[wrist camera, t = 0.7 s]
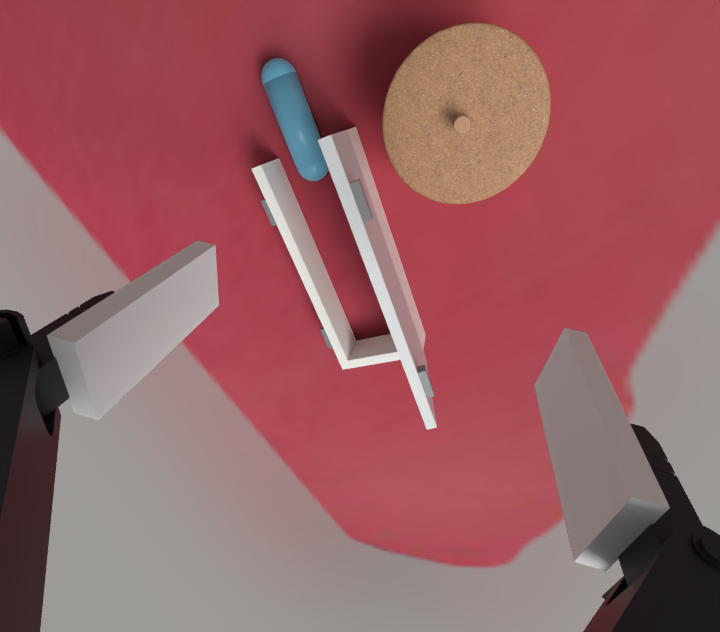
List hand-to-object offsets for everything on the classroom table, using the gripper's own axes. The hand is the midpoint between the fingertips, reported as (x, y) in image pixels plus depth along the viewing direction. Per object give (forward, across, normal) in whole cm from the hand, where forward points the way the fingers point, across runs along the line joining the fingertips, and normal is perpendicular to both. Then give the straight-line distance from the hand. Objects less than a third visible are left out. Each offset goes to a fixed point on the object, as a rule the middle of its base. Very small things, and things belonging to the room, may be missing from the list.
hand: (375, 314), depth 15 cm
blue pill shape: (+25, -12, +2) cm, 28 cm away
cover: (+15, -1, -6) cm, 16 cm away
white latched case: (+24, -5, -9) cm, 27 cm away
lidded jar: (+25, +2, +5) cm, 25 cm away
